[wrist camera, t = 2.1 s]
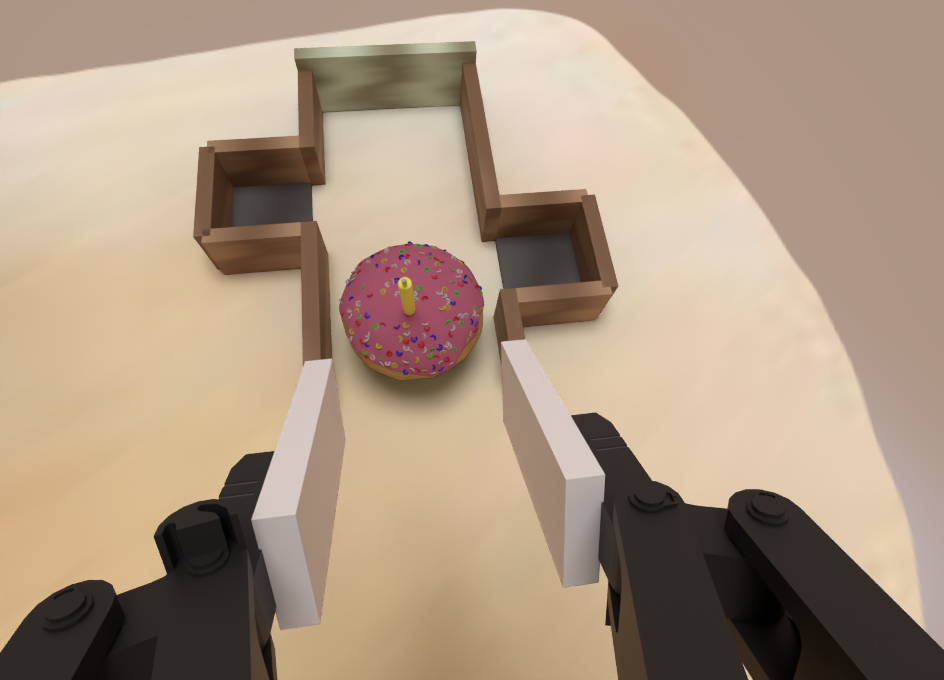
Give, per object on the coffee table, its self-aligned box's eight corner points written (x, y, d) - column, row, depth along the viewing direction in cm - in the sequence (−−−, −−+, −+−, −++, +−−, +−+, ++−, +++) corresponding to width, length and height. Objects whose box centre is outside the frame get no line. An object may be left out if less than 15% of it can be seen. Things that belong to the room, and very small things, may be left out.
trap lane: (210, 417, 34) (174, 394, 29) (224, 107, 43) (199, 52, 38) (615, 373, 36) (641, 346, 32) (547, 91, 46) (560, 38, 41)
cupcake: (478, 400, 35) (498, 326, 24) (345, 398, 35) (303, 322, 24) (477, 282, 38) (494, 169, 27) (355, 279, 38) (322, 162, 27)
